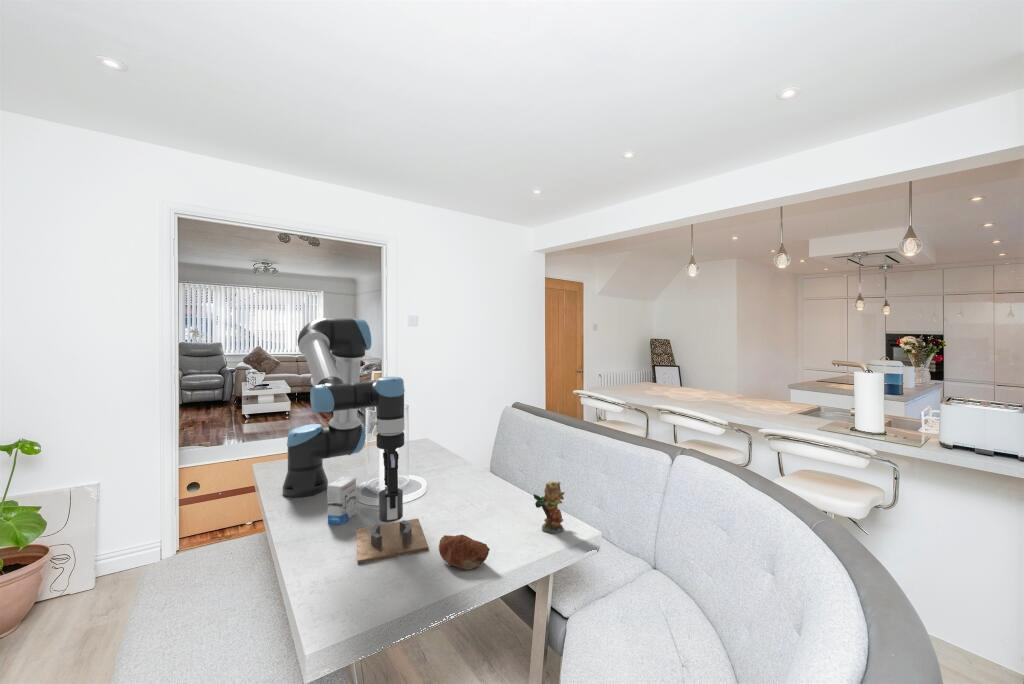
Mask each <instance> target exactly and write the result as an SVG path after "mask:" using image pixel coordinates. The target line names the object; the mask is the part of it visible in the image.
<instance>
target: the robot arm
mask: <svg viewBox="0 0 1024 684" xmlns="http://www.w3.org/2000/svg"><path fill="white" fill-rule="evenodd" d="M297 346H298V349H299V352H300V353H301V354H302V355H303V356H304V358H305V361H306V363H307V366H308V369H309V371H310V372H309V373H310V374H311V378H312V381H313V386H312V387H311V389H310V395H309V399H310V408H311V410H312V411H313V412H315V413H331V412H333V417H332V418H331V419H330V420H328V426H325V427H323V425H322V424H320V423H314V424H313V423H310V424H306V425H302V426H298V427H295V428H293V429H292V430H290V431H289V432H288V434H287V439H286V440H287V441H286V446H287V472H286V476H285V478H284V482H283V485H282V494H283V496H285V497H288V498H304V497H308V496H309V497H310V496H314V495H317V494H319V493H322V492H324V491H325V490H327V486H329V481H328V480H329V479H328V477H327V474H326V472H325V469H324V466H323V463H324V462H323V460H325V459H331V458H336V457H343V456H352V455H354V454H358V453H361V451H362V450H363V448H364V446H365V444H366V438H367V437H366V427H365V425H364V423H362V420H361V419H360V418H359V417H358V409H368V408H375V410H376V413H375V414H376V415H375V417H376V421H374V422H373V424H374V426H376V433H377V434H376V447H377V448H378V449H379V450H383V452H382V458H383V466H384V470H383V471H384V474H383V475H384V478H383V480H384V490H385V489H388V494H387V495H385V498H386V497H387V520H392V519H398V507H397V496H398V494H399V493H398V488H399V473H398V472H399V459H400V457H399V456H400V455H399V453H398V450H397V449H399V448H403V446H404V445H405V433H404V431H405V391H406V390H405V383H404V379H403V378H402V377H399V376H384V377H383V376H382V377H379V378H377V379H373V380H369V381H362V382H360V375H361V360H362V359H363V358H364V357H366V351H369V350H370V349H371V348H372V334H371V329H370V326H369V324H368V322H367V321H366V320H364V318H363V319H361V318H354V317H352V318H349V317H348V318H345V317H344V318H339V317H337V318H335V317H334V318H330V317H329V318H328V317H322V318H317V319H316V318H315V319H314V320H312V321H310V322H308V323H307V324H306V325H304V327H303V328H302V329H301V331H300V332H299V334H298V337H297ZM334 359H335V360H334Z"/></svg>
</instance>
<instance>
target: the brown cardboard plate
mask: <svg viewBox="0 0 1024 684" xmlns="http://www.w3.org/2000/svg"><path fill="white" fill-rule="evenodd" d="M356 547H357V548H356V550H357V551H356V552H357V565H360V564H361V565H362V564H365V563H371V562H377V561H382V560H386V559H391V558H398V557H402V556H408V555H412V554H413V555H414V554H417V553H423V552H429V551H430V550H429V549H430V547H429V543H428V542H427V538H426V536H425V533H424V530H423V528H422V525H421V523H420V519H419V518H414V519H413V518H412V519H406V520H405V519H404V520H400V521H399V520H398V521H394V522H386V523H381V524H374V525H369V526H363V527H357V528H356Z"/></svg>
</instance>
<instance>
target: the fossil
mask: <svg viewBox="0 0 1024 684" xmlns="http://www.w3.org/2000/svg"><path fill="white" fill-rule="evenodd" d="M490 551H491V548H489V547H488V544H487V543H483V542H482V541H479V540H475V539H472V538H471V537H469V536H468V535H464V534H457V535H443V536H442V537H441V538H440V539H439V544H438V552H439V555H440V557H441V558H442V560H444V562H445V563H446V564H447V565H448V566H454V567H457V568H460V569H463V570H472V569H476V568H478V567H480V566H481V565H482V564H483V563H484V562H485V561H486V560H487V557H488V555H489V552H490Z"/></svg>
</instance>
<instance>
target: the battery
mask: <svg viewBox="0 0 1024 684" xmlns="http://www.w3.org/2000/svg"><path fill="white" fill-rule="evenodd" d="M398 493H399V494H398V496H397V507H398V519H392V520H387V497H386V498H385V495H387V494H388V489H385V488H384V489H383V490H381V491H379V493H378V514H379V516H378V519H379V521H381V522H383V523H393V522H398V521H399V520H401V519H402V518H403V516H404V504H403V502H404V501H403V498H404V495H403V493H404V491H403V489H401V488H399V487H398Z"/></svg>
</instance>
